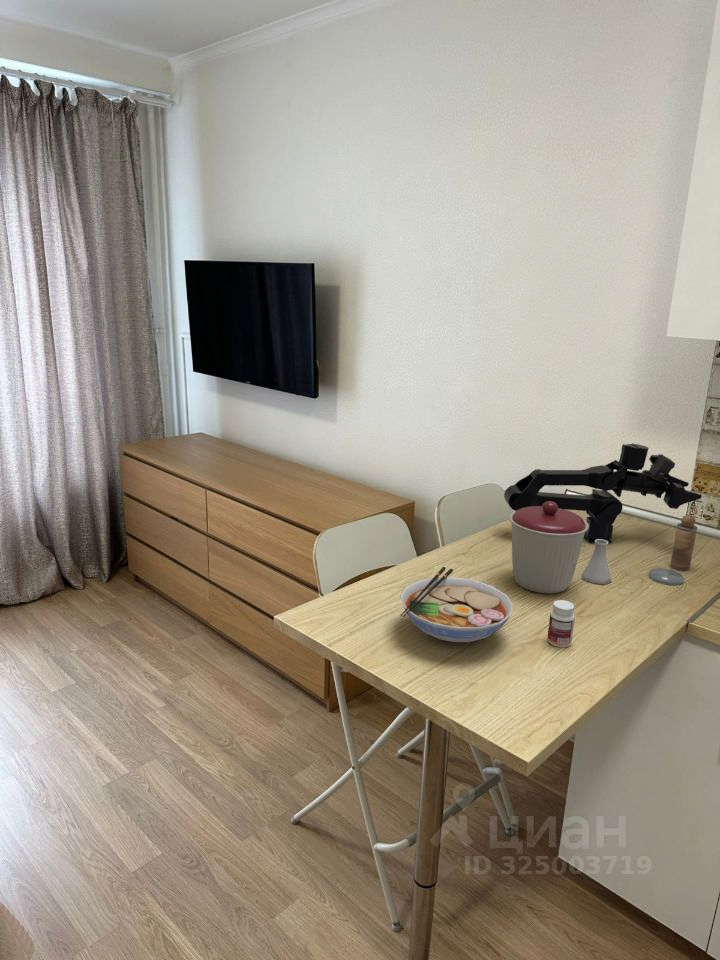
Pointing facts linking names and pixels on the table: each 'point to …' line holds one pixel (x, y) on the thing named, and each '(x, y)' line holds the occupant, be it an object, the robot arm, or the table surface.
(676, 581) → the slate coaster
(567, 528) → the canister
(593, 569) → the flask
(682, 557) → the pepper mill
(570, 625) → the pill bottle
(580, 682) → the table surface
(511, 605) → the ramen bowl
